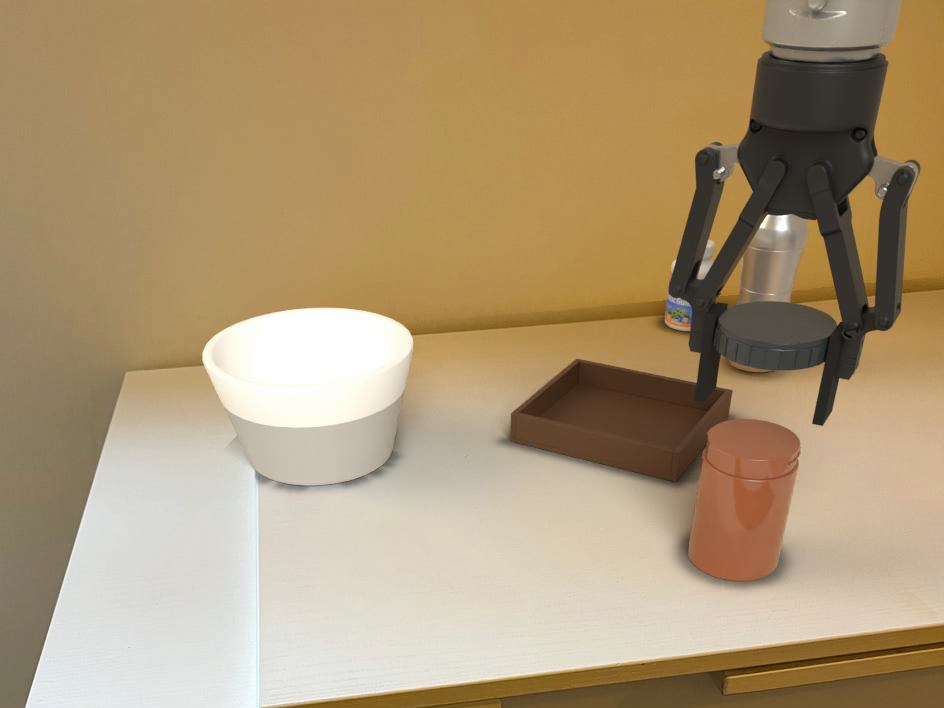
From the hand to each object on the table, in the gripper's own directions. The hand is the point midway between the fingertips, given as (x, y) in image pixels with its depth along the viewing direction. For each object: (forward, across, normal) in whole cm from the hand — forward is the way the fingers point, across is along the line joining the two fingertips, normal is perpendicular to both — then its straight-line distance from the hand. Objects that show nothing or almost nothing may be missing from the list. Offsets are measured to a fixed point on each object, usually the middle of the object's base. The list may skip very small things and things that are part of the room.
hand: (762, 405), depth 73 cm
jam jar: (+13, 0, 0) cm, 13 cm away
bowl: (+13, -41, -1) cm, 43 cm away
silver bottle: (+14, -10, +38) cm, 42 cm away
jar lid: (-6, 0, 0) cm, 6 cm away
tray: (+13, -17, +17) cm, 28 cm away
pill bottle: (+13, -21, +47) cm, 53 cm away
